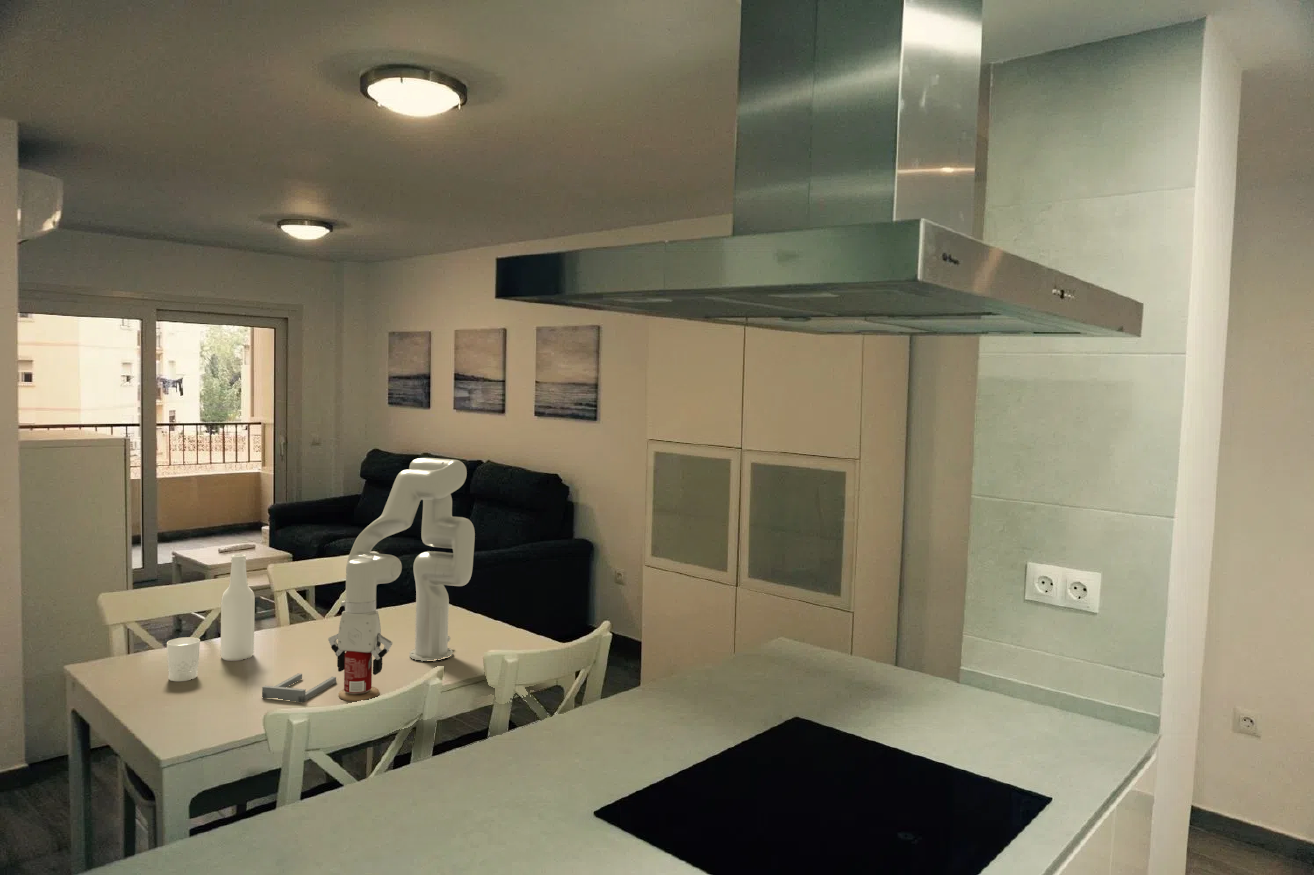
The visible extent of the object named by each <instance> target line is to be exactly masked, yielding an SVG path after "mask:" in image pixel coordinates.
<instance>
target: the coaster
mask: <svg viewBox="0 0 1314 875" xmlns="http://www.w3.org/2000/svg"><path fill="white" fill-rule="evenodd" d="M379 694H380V689H379V688H377V687H375V686H371V690H370V691H368V692H367V693H365V694H362V695H350V694H348V693H346V692H345V691H344V688H343V689H342V690H340V691H339V692H338V694H337V695H338V696H337V697H338V698H339V699H340V700H343V701H347V702H360V701H359V700H363V701H367V700H366V699H369V698H372V699H374V698H377V697H378V695H379ZM373 697H374V698H373ZM369 700H370V699H369Z"/></svg>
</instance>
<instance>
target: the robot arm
mask: <svg viewBox="0 0 1314 875" xmlns="http://www.w3.org/2000/svg"><path fill="white" fill-rule="evenodd" d="M467 472H468V471H467V466H466V465H465V464H464V463H463V461H461V460H458V459H453V458H452V459H450V458H437V457H436V458H435V457H420V458H415V459H413V460H412V461H411V462H410V463H409V467H408V469H403V470H401V471H400V472H399V473H398V474H397V475H396V478H395V479H394V482H393V484H392V486H391V487H392V488H391V490H390V492H389V496H388V498H387V501H386V502H385V505H384V508H383V511H382V513H381V515H380V516H379V517H378V518H376V519H375V520H373V521H372V522H371V523H370V524H369V525H367V526H366V527H365V528H364V529H363V530H362V531H361V532H360V533H359V534H358V536H357V537H356V539H355V540H354V543H353V545H352V547H351V550H350V551H349V552H350V553H349V555H348V558H347V563H346V568H345V600H342V601H341V602H340V605H341V607H344V610H343V611H342V612H341V616H340V621H339V625H338V626H339V627H338V633H336V634H334V635H331V636H330V637H328V639H327V640H328V643H329V644H330V648H331V650H332V652H334V654H335V656H336V657H337V658H336V659H337V661H336V662H337V663H336V664H337V672H343V671H344V667H345V653H346V651H355V652H361V653H370V652H371V653H372V657H374V659H372V675H374V676H376V675H378V674H379V673H381V671H382V669H383V658H384V657H385V656H386V654H387V653H389V652H390V649H391V647H392V645H393V641H391V640H390V639H388V638H386V637H385V636H383V635H382V630H381V629H382V627H381V620H380V614H379V611H378V610H377V586H378V585H380V584H389V583H393V582H394V581H396V580H397V579H398V578H399V577H400V575H401V573H402V569H403V564H402V561H401V560H400V558H398V557H397V556H395V555H392V554H385V553H378V552H372V550H373V548H374V547H375V546H376V545H377V544H378V543H379V542H381V541H382V540H383V539H386V538H387V537H390V536H392V535H395V534H398V533H400V532H403V531H406V530H407V529H409V528H411V526H412V524H413V523H414V519H415V517H416V514H417V511H418V508H419V505H420V504H421V503H420V502H421V501H422V515H421V516H422V519H421V530H420V531H421V532H420V533H421V540H422V543H423V544H424V545H425V546H429V547H433V548H442V549H452V552H446V551H435V550H434V551H433V550H431V551H430V550H427V551H423V552H421V553H419V554H418V555H417V556H416V557H415V559H414V562H413V567H412V568H413V576H414V581H415V591H416V593H415V594H416V595H415V598H416V599H415V602H416V603H415V604H416V605H415V630H414V631H415V633H414V635H415V637H414V639H415V640H414V649H412V650H410V651H409V658H410V657H411V658H412V659H411V658H410V659H411V660H413V659H415V660H414V661H416V660H421V661H420V662H423V661H427V660H434V659H437V660H438V659H441V658H443V657H448V656H450V655H452V653H453V650H452V649H451V648H449V646H448V643H449V642H450V641H451V637H450V635H449V612H450V611H449V604H450V603H449V602H450V599H449V593H448V591H447V588H446V587H445V586H452V587H453V586H454V587H463V586H465V585H467V584H468V583H469V582H470V580H471V577H472V575H473V569H474V568H473V567H474V554H475V540H476V539H475V538H476V537H475V536H476V533H475V532H476V531H475V527H474V524H473V523H472V521H471V520H470V519H469V518H466V517H463V516H453V498H452V494H453V493H454V492H456V491H457V490H459V489H460V488H461V487H462V486H463V485H464V484H465V482H466V479H467V474H468V473H467ZM381 644H382V645H384V646H383V649H382V648H381ZM452 656H453V655H452Z"/></svg>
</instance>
